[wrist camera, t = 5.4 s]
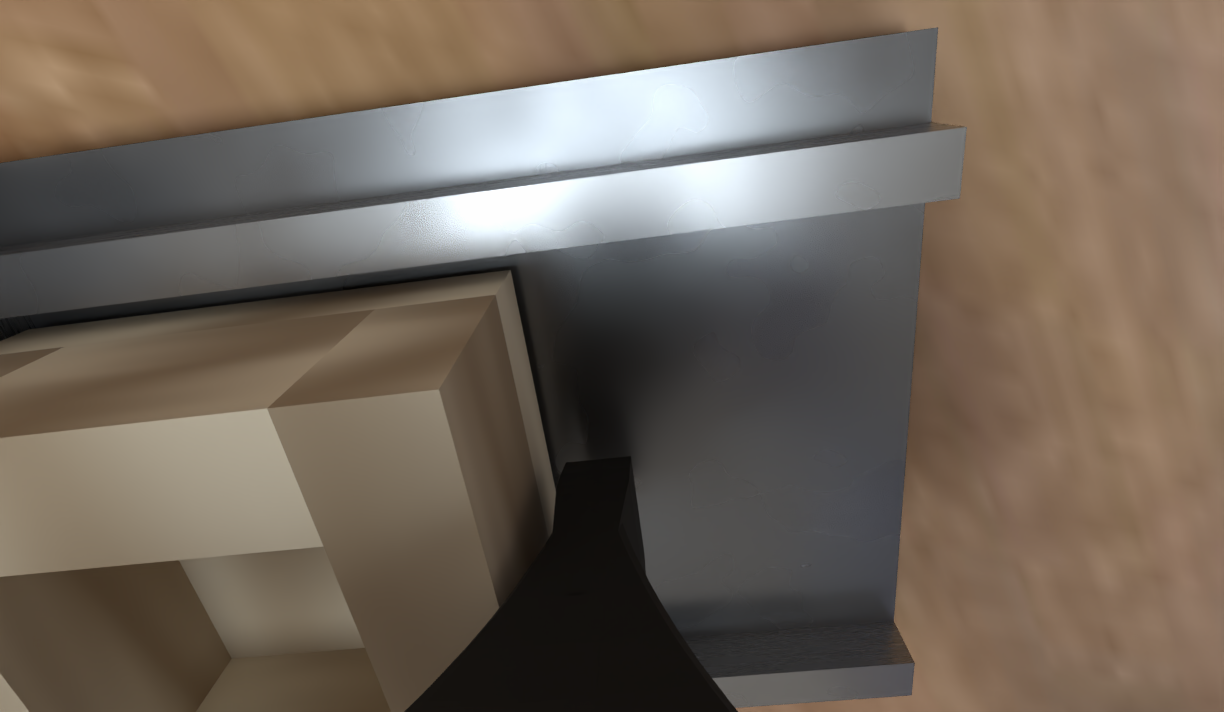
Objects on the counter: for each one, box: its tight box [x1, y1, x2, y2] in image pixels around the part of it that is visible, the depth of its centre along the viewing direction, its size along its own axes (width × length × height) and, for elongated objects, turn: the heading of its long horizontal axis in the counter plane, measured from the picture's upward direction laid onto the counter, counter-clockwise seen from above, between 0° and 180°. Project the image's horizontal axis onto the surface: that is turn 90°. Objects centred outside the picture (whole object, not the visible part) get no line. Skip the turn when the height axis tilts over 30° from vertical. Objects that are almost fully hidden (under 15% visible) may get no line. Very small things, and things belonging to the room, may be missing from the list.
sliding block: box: [0, 270, 556, 712], centre depth 10 cm, size 8×8×4 cm
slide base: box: [0, 28, 967, 708], centre depth 10 cm, size 16×13×6 cm
